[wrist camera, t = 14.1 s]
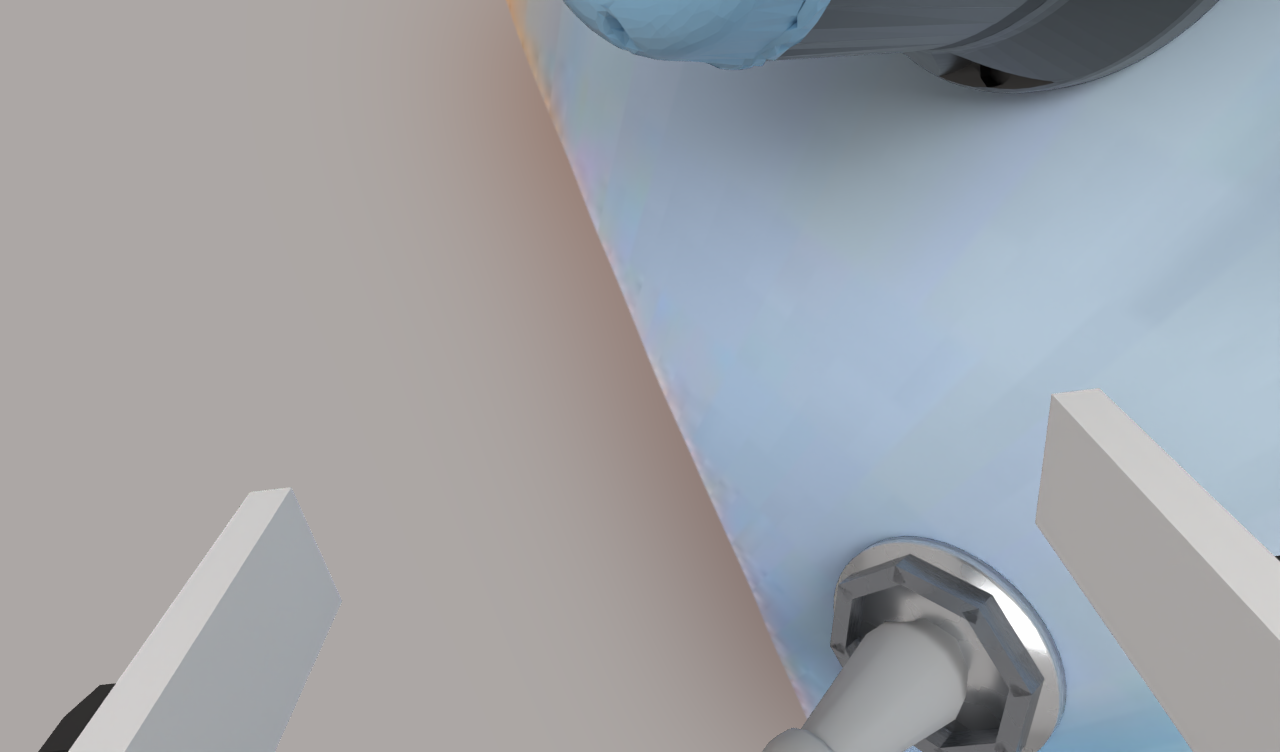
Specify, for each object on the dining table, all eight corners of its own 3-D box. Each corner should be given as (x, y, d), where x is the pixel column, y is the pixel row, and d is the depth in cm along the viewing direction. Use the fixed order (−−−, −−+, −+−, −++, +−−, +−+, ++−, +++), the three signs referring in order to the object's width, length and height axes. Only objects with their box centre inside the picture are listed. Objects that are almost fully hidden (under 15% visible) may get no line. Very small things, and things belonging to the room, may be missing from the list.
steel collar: (807, 568, 50) (783, 585, 49) (970, 506, 40) (947, 526, 39) (918, 760, 48) (897, 785, 46) (1121, 745, 38) (1102, 777, 36)
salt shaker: (960, 604, 41) (812, 747, 33) (1000, 706, 41) (862, 874, 33) (870, 604, 46) (721, 729, 38) (906, 695, 46) (765, 841, 38)
